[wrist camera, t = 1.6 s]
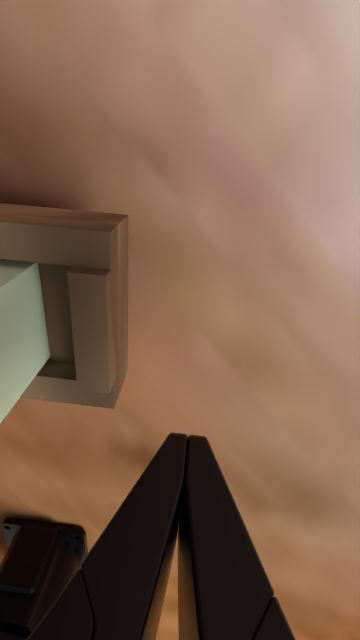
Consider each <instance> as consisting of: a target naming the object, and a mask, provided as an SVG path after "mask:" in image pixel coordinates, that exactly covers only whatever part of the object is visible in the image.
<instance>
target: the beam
mask: <svg viewBox="0 0 360 640" xmlns="http://www.w3.org/2000/svg"><path fill="white" fill-rule="evenodd" d="M0 259H6V260H16V261H25V262H35V263H38V266H39V274H40V282H41V289H42V297H43V305H44V313H45V321H46V328H47V336H48V344H49V352H50V357H49V359H48V360H47V361H46V363H45V364H44V365H43V367H42V368H41V369H40V371H39V372H38V373H37V375H36V376H35V378H34V379H33V380H32V382H31V383H30V384H29V386H28V387H27V388H26V390H25V391H24V392H23V394H22V395H21V396H20V397H22V398H30V399H38V400H46V401H55V402H63V403H71V404H79V405H87V406H95V407H104V408H112V409H114V406H115V404H116V401H117V398H118V396H119V393H120V390H121V388H122V385H123V382H124V380H125V377H126V374H127V371H128V215H121V214H111V213H101V212H90V211H80V210H70V209H59V208H49V207H39V206H29V205H18V204H8V203H0Z"/></svg>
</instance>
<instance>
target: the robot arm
mask: <svg viewBox="0 0 360 640" xmlns="http://www.w3.org/2000/svg"><path fill="white" fill-rule="evenodd" d="M179 517H180V518H179ZM178 525H179V529H178ZM1 529H2V532H3V536H4V539H5V542H6V546H7V551H6V553H5V555H4V557H3V559H2V561H1V563H0V640H155V639H156V635H157V630H158V625H159V621H160V616H161V611H162V606H163V602H164V597H165V592H166V588H167V583H168V578H169V574H170V569H171V564H172V560H173V555H174V550H175V545H176V540H177V533H178V616H179V640H296V639H295V637H294V635H293V633H292V631H291V629H290V626H289V624H288V622H287V620H286V617H285V615H284V613H283V611H282V608H281V606H280V604H279V601H278V599H277V598H276V597H273V596H274V591H273V588H272V586H271V584H270V581H269V579H268V577H267V575H266V572H265V570H264V568H263V565H262V563H261V561H260V559H259V556H258V554H257V552H256V549H255V547H254V545H253V542H252V540H251V538H250V536H249V533H248V531H247V529H246V526H245V524H244V522H243V520H242V517H241V515H240V513H239V510H238V508H237V506H236V504H235V501H234V499H233V497H232V494H231V492H230V490H229V488H228V485H227V483H226V481H225V478H224V476H223V474H222V472H221V469H220V467H219V465H218V462H217V460H216V458H215V456H214V453H213V451H212V449H211V446H210V444H209V442H208V440H207V438H206V437H204V436H197V435H189V437H188V436H187V435H186V434H181V433H170V434H169V435H168V437H167V438H166V440H165V441H164V442H163V444H162V445H161V447H160V448H159V450H158V451H157V453H156V454H155V456H154V457H153V459H152V460H151V462H150V463H149V465H148V466H147V468H146V469H145V471H144V472H143V473H142V475H141V476H140V478H139V479H138V481H137V482H136V484H135V485H134V487H133V488H132V490H131V491H130V493H129V494H128V496H127V497H126V499H125V500H124V501H123V503H122V504H121V506H120V507H119V509H118V510H117V512H116V513H115V515H114V516H113V518H112V519H111V521H110V522H109V524H108V525H107V527H106V528H105V530H104V531H103V532H102V534H101V535H100V537H99V538H98V540H97V541H96V543H95V544H94V546H93V547H92V549H91V550H90V552H89V553H88V550H87V540H86V532H85V531H84V530H83V529H80V528H73V527H66V526H59V525H52V524H45V523H37V522H30V521H23V520H16V519H4V521H3V522H2V524H1Z"/></svg>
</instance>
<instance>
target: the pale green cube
mask: <svg viewBox="0 0 360 640" xmlns="http://www.w3.org/2000/svg"><path fill="white" fill-rule="evenodd" d="M49 357H50V352H49V344H48V336H47V328H46V321H45V313H44V305H43V297H42V289H41V282H40V274H39V266H38V263H35V262H25V261H16V260H6V259H0V423H1V422H2V420H3V419H4V418H5V416H6V415H7V414H8V412H9V411H10V410H11V408H12V407H13V406H14V404H15V403H16V402H17V400H18V399H19V398H20V396H21V395H22V394H23V392H24V391H25V390H26V388H27V387H28V386H29V384H30V383H31V382H32V380H33V379H34V378H35V376H36V375H37V373H38V372H39V371H40V369H41V368H42V367H43V365H44V364H45V363H46V361H47V360H48V359H49Z"/></svg>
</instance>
